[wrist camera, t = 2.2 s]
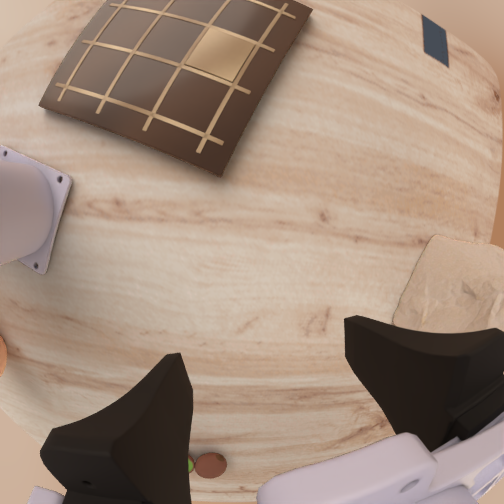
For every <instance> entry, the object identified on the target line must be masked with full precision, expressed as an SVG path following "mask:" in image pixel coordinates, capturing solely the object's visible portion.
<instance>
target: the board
mask: <svg viewBox="0 0 504 504" xmlns="http://www.w3.org/2000/svg"><path fill="white" fill-rule="evenodd" d="M312 11H313V9H312V8H309V7H307V6H305V5H303V4H301V3H299V2H296V1H294V0H107V1H106V2H105V3H104V4H103V5H102V7H101V8H100V9H99V10H98V12H97V13H96V14H95V15H94V17H93V18H92V19H91V20H90V22H89V23H88V24H87V26H86V27H85V28H84V30H83V31H82V33H81V34H80V35H79V37H78V38H77V40H76V41H75V43H74V44H73V46H72V47H71V49H70V50H69V52H68V53H67V55H66V56H65V58H64V60H63V61H62V63H61V65H60V66H59V68H58V70H57V71H56V73H55V75H54V77H53V78H52V80H51V82H50V84H49V86H48V87H47V89H46V91H45V93H44V95H43V97H42V99H41V101H40V103H39V106H40V107H42V108H44V109H48V110H51V111H54V112H57V113H60V114H63V115H65V116H68V117H71V118H74V119H77V120H80V121H83V122H85V123H88V124H91V125H94V126H97V127H99V128H102V129H105V130H107V131H110V132H113V133H115V134H118V135H120V136H123V137H126V138H128V139H131V140H133V141H136V142H138V143H141V144H143V145H146V146H148V147H151V148H153V149H156V150H158V151H161V152H163V153H165V154H168V155H170V156H173V157H175V158H177V159H180V160H182V161H184V162H187V163H189V164H191V165H194V166H196V167H198V168H200V169H203V170H205V171H207V172H209V173H212V174H214V175H216V176H218V177H221V176H222V174H223V172H224V170H225V168H226V166H227V164H228V162H229V160H230V158H231V156H232V154H233V152H234V150H235V148H236V146H237V144H238V142H239V140H240V138H241V136H242V134H243V132H244V130H245V128H246V126H247V124H248V122H249V120H250V118H251V116H252V115H253V113H254V111H255V109H256V107H257V105H258V103H259V101H260V100H261V98H262V96H263V94H264V92H265V90H266V89H267V87H268V85H269V83H270V81H271V80H272V78H273V76H274V74H275V73H276V71H277V69H278V67H279V65H280V64H281V62H282V60H283V59H284V57H285V55H286V53H287V52H288V50H289V48H290V47H291V45H292V43H293V42H294V40H295V38H296V37H297V35H298V33H299V32H300V30H301V28H302V27H303V25H304V24H305V22H306V20H307V19H308V17H309V16H310V14H311V12H312Z"/></svg>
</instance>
